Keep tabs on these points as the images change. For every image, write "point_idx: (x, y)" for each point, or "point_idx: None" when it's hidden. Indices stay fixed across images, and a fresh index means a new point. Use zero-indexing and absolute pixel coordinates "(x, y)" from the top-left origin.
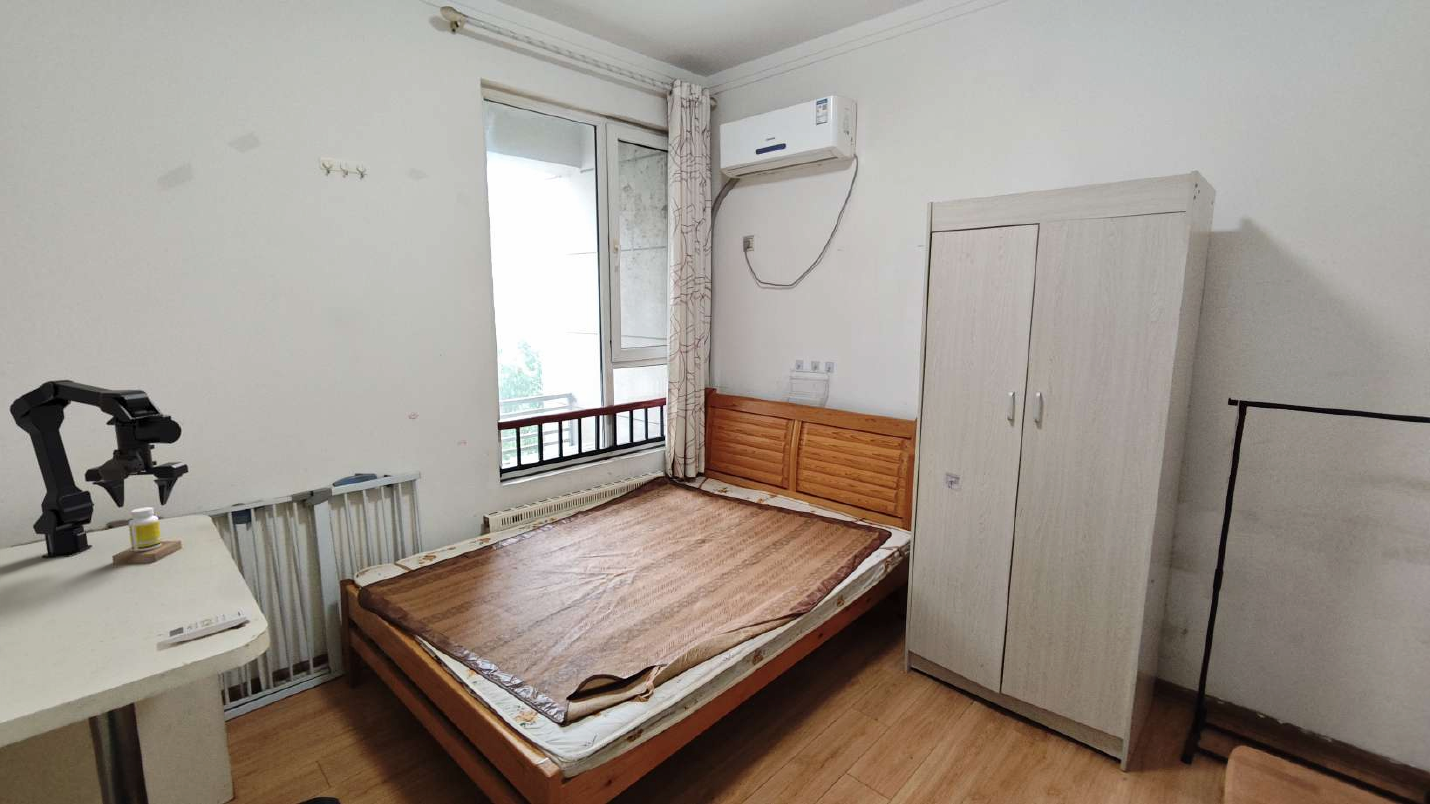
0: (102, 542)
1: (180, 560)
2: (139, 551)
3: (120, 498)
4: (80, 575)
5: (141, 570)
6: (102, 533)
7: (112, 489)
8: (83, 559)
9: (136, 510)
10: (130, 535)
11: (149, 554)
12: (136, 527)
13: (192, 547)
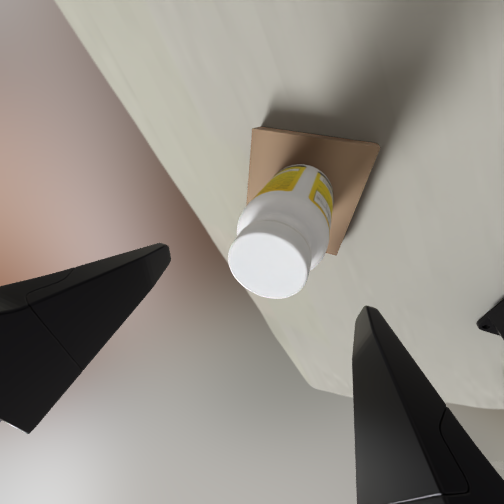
0: (454, 345)
1: (203, 117)
2: None
3: (366, 364)
4: (471, 22)
5: (262, 35)
6: (465, 397)
7: (433, 474)
8: (486, 231)
9: (285, 265)
10: (324, 195)
11: (267, 130)
12: (288, 189)
13: (231, 218)
